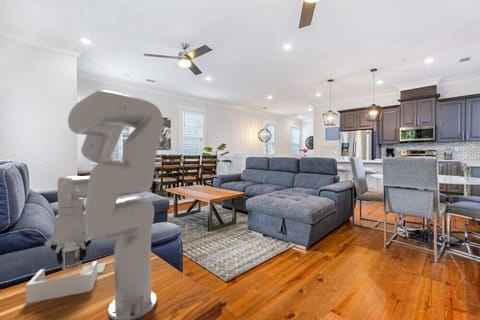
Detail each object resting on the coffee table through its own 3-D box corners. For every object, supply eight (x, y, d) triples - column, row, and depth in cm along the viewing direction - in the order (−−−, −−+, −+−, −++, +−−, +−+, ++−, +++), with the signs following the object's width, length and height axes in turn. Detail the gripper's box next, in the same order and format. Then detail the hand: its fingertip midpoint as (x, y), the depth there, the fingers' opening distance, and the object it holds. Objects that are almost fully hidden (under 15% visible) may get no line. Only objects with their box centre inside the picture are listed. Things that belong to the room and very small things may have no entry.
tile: (103, 272, 85) (103, 271, 85) (79, 276, 82) (79, 275, 82) (106, 264, 92) (106, 262, 92) (84, 267, 89) (84, 266, 89)
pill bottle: (85, 264, 85) (85, 237, 85) (72, 271, 79) (72, 243, 79) (71, 263, 86) (70, 236, 85) (57, 271, 80) (57, 242, 80)
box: (91, 291, 74) (91, 274, 74) (26, 303, 68) (25, 285, 68) (97, 275, 83) (97, 260, 83) (40, 285, 77) (40, 269, 77)
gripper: (100, 206, 89) (101, 252, 89) (45, 210, 82) (46, 260, 82) (97, 210, 82) (98, 260, 82) (36, 215, 75) (37, 270, 76)
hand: (72, 260), depth 82 cm, fingers closed on pill bottle, 5 cm apart
